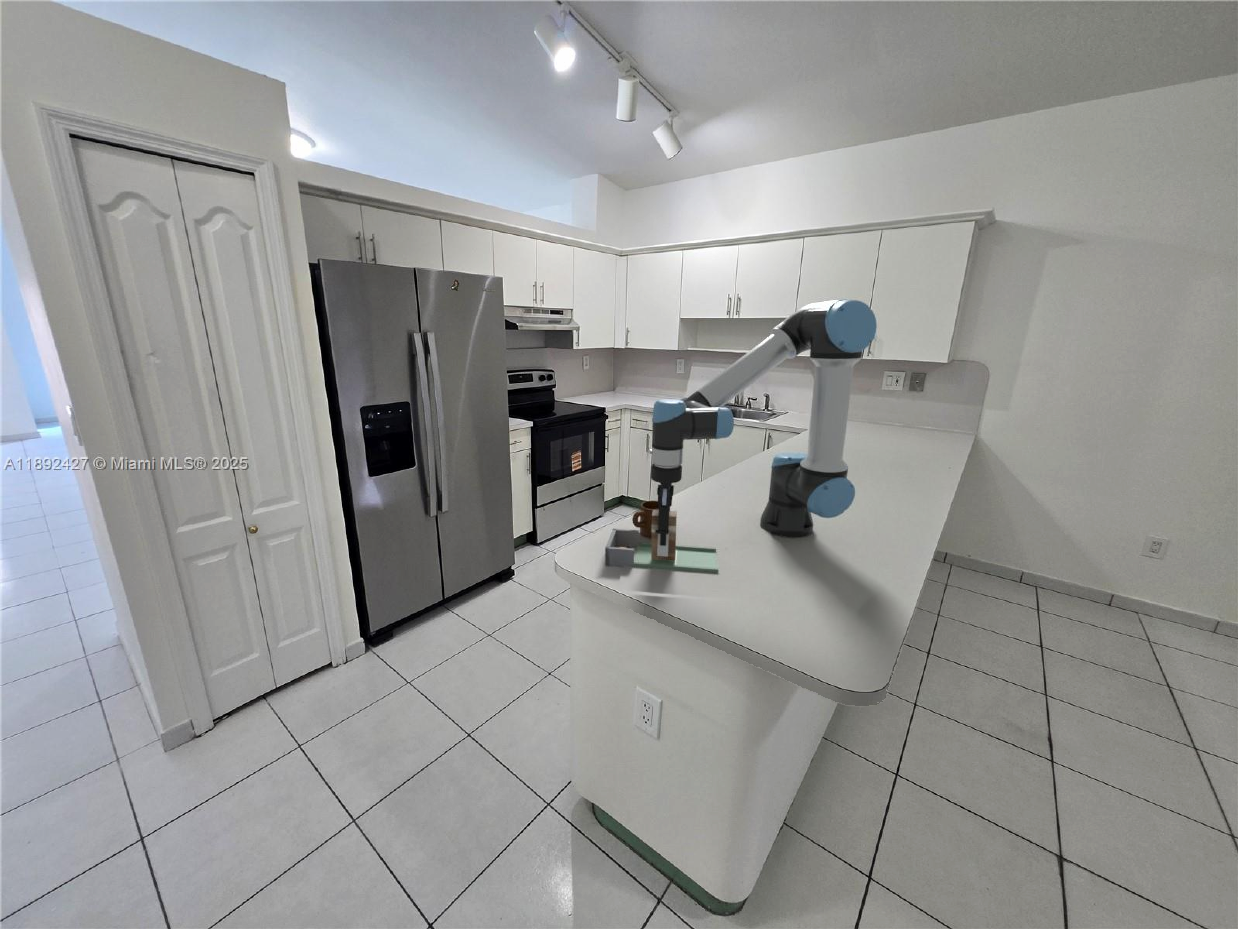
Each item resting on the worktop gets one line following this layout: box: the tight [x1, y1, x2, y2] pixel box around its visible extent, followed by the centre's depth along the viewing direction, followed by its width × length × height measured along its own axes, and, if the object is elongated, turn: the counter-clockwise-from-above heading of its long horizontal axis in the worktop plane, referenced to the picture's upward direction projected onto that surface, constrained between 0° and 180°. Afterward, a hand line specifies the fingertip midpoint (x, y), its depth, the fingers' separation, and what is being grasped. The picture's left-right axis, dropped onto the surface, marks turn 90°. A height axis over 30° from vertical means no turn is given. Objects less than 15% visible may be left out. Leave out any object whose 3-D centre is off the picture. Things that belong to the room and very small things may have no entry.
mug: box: [631, 500, 659, 539], centre depth 133 cm, size 12×8×9 cm, turn 133°
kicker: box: [651, 510, 678, 561], centre depth 117 cm, size 6×4×12 cm, turn 82°
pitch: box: [604, 528, 719, 574], centre depth 121 cm, size 28×12×5 cm, turn 81°
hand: (663, 551), depth 119 cm, fingers closed on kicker, 4 cm apart
